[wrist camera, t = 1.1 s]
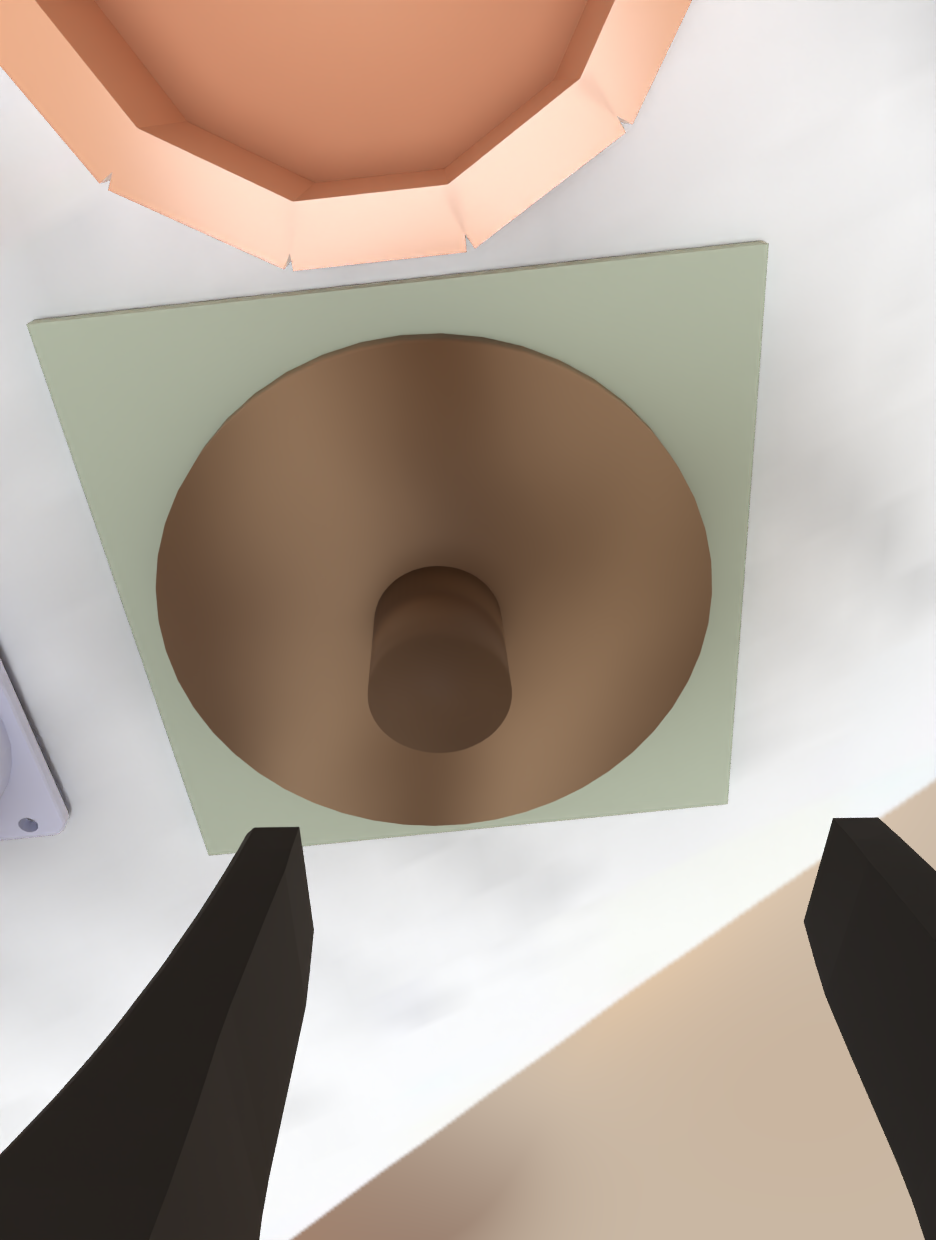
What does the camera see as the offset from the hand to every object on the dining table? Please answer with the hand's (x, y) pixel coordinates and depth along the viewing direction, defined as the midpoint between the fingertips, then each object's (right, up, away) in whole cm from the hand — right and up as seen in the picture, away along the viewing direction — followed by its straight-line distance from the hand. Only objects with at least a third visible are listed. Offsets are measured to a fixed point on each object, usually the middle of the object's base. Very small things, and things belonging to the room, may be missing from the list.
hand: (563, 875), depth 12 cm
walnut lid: (-2, +4, +10) cm, 11 cm away
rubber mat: (-2, +4, +10) cm, 11 cm away
